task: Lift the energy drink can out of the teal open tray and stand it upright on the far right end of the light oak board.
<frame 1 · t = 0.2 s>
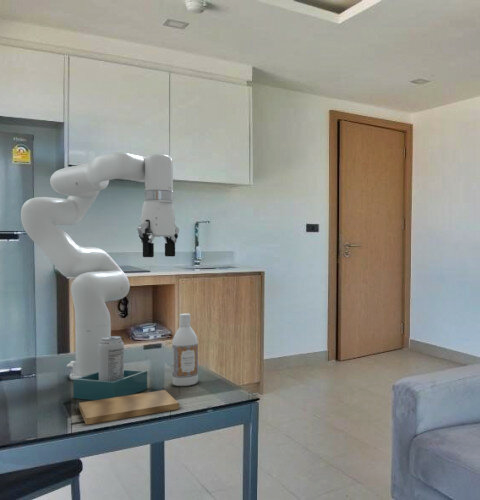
hand: (159, 256, 154), 36 cm above the table, tool pointing down, fingers open, 9 cm apart
oak board: (128, 408, 129), on the table
teal open tray: (111, 393, 143), on the table
energy drink can: (111, 394, 143), resting in teal open tray
bath foam: (185, 384, 153), on the table
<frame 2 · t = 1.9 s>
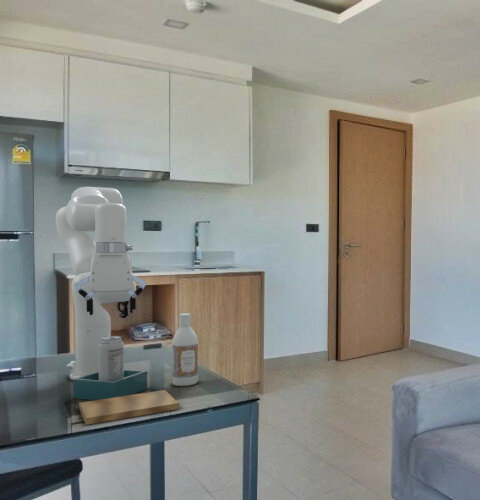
hand: (111, 313, 142), 22 cm above the table, tool pointing down, fingers open, 9 cm apart
nothing on the table moved.
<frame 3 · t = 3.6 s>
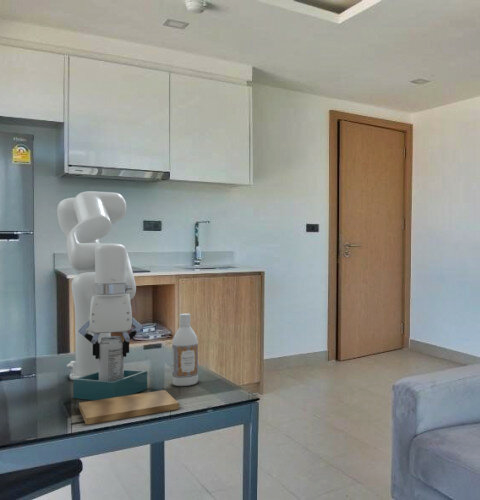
hand: (111, 356, 143), 10 cm above the table, tool pointing down, fingers closed on energy drink can, 6 cm apart
energy drink can: (111, 394, 143), resting in teal open tray, touching gripper
everything else where it was.
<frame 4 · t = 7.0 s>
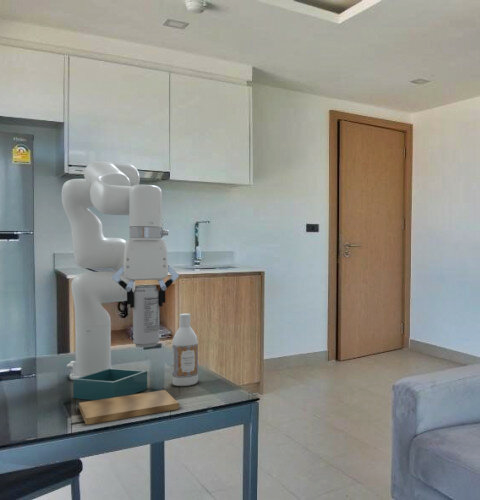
hand: (146, 305, 133), 25 cm above the table, tool pointing down, fingers closed on energy drink can, 6 cm apart
energy drink can: (146, 346, 133), point 15 cm above the table, touching gripper
everything else where it was.
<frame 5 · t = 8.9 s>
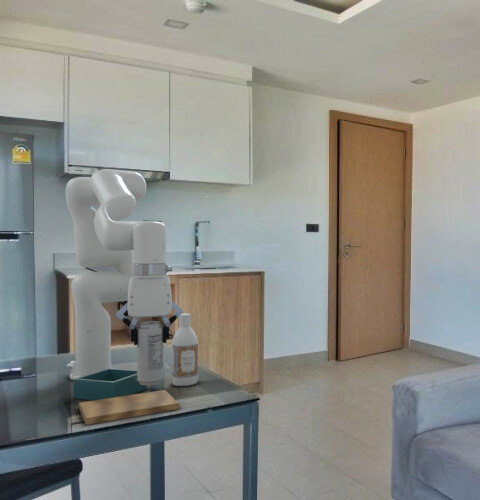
hand: (150, 342, 132), 16 cm above the table, tool pointing down, fingers closed on energy drink can, 6 cm apart
energy drink can: (150, 383, 132), point 5 cm above the table, touching gripper
everything else where it was.
when the fingers open (11 cm above the table, at t = 10.4 s): energy drink can stays where it is, resting on oak board.
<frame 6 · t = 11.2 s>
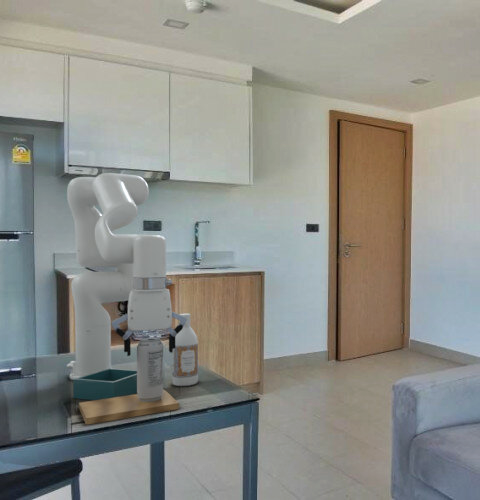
hand: (150, 353, 132), 13 cm above the table, tool pointing down, fingers open, 9 cm apart
energy drink can: (150, 399, 132), point 1 cm above the table, touching oak board
everything else where it was.
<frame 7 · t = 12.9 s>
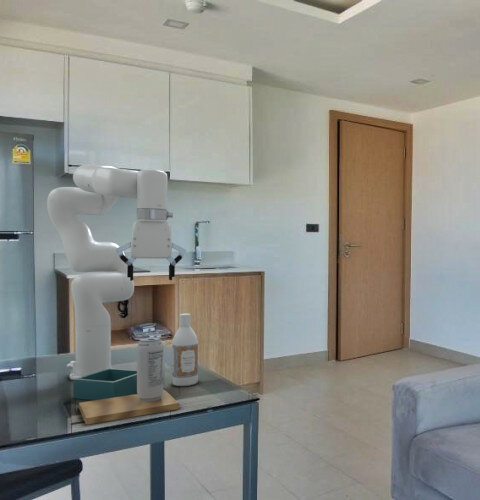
hand: (151, 280, 143), 30 cm above the table, tool pointing down, fingers open, 9 cm apart
nothing on the table moved.
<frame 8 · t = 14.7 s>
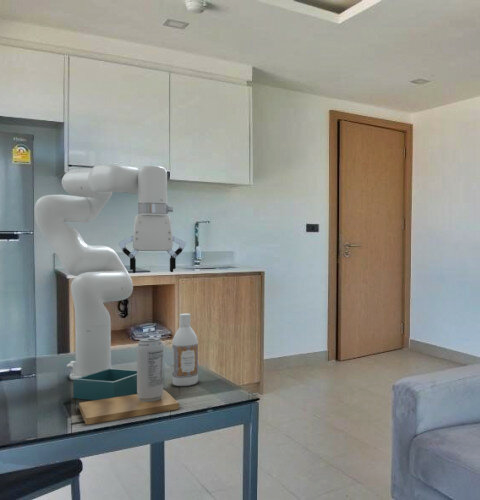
hand: (153, 272, 148), 32 cm above the table, tool pointing down, fingers open, 9 cm apart
nothing on the table moved.
at the end: energy drink can inside the target area (0.1 cm from its centre), point 1.3 cm above the table; energy drink can tilted 0°; the gripper is holding nothing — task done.
